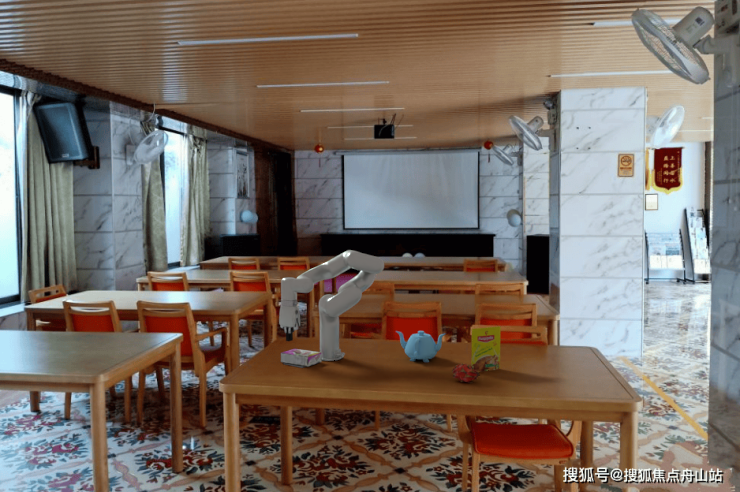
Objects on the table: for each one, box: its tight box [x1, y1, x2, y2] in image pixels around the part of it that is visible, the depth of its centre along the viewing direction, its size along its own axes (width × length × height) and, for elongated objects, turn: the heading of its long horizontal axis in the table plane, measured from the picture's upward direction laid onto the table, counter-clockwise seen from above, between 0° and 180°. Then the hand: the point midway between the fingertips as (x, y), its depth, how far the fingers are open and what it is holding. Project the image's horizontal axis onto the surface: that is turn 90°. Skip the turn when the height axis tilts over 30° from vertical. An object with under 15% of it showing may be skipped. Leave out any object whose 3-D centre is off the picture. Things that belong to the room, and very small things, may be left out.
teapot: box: [395, 330, 446, 363], centre depth 291 cm, size 16×20×14 cm
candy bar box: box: [280, 348, 322, 368], centre depth 284 cm, size 11×5×16 cm
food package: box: [470, 326, 502, 373], centre depth 271 cm, size 15×1×20 cm, turn 112°
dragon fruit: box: [451, 363, 481, 384], centre depth 254 cm, size 8×8×12 cm
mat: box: [282, 362, 307, 369], centre depth 283 cm, size 12×9×1 cm
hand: (289, 340), depth 287 cm, fingers closed
